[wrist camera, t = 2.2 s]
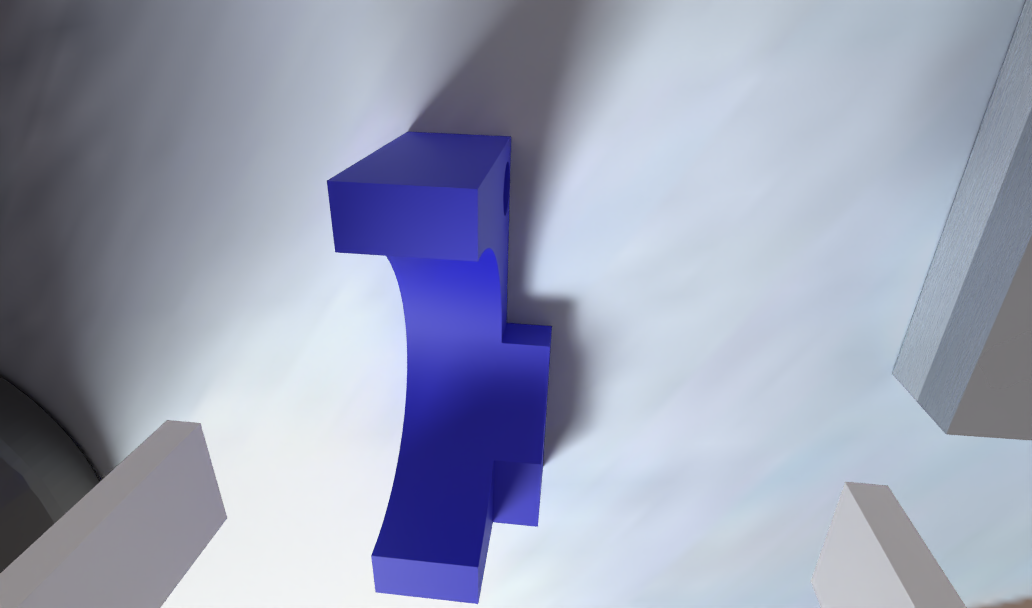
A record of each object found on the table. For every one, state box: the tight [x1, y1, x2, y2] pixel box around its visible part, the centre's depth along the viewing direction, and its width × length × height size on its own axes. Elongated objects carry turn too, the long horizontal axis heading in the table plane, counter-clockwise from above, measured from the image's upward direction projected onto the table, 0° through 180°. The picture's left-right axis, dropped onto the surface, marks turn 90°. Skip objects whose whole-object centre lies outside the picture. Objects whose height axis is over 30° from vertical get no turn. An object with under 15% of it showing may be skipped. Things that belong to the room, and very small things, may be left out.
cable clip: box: [327, 132, 552, 604], centre depth 16 cm, size 12×4×6 cm, turn 178°
